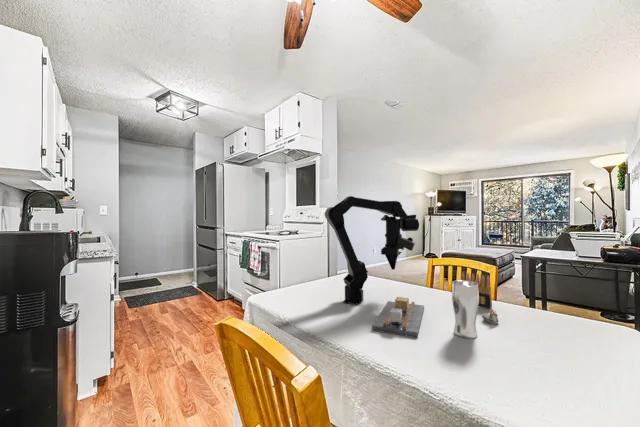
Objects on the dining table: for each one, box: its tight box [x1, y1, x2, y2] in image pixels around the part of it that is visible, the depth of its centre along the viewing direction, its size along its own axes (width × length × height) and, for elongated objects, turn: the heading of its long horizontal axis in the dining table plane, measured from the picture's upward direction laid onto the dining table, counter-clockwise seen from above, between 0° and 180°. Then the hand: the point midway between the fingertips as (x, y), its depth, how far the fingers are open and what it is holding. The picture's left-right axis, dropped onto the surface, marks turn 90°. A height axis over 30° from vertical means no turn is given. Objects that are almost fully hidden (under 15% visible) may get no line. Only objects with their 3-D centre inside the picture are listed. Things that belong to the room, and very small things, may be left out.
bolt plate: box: [371, 301, 425, 339], centre depth 94 cm, size 13×25×2 cm, turn 156°
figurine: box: [481, 306, 499, 325], centre depth 91 cm, size 5×4×6 cm
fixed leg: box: [391, 308, 402, 324], centre depth 87 cm, size 3×3×4 cm
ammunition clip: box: [460, 271, 493, 310], centre depth 108 cm, size 11×2×12 cm, turn 44°
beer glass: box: [451, 279, 479, 340], centre depth 82 cm, size 7×7×15 cm
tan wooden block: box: [394, 296, 410, 310], centre depth 97 cm, size 4×4×3 cm
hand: (393, 269), depth 116 cm, fingers closed
